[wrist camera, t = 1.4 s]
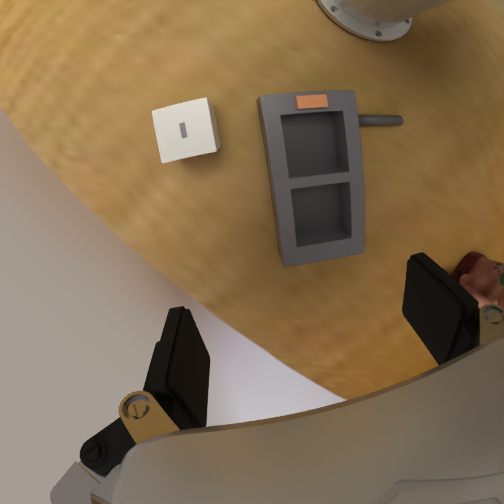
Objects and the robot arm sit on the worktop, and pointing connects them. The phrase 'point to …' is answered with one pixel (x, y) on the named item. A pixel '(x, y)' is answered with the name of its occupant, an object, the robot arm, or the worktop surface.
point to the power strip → (316, 172)
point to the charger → (186, 129)
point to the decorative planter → (482, 279)
